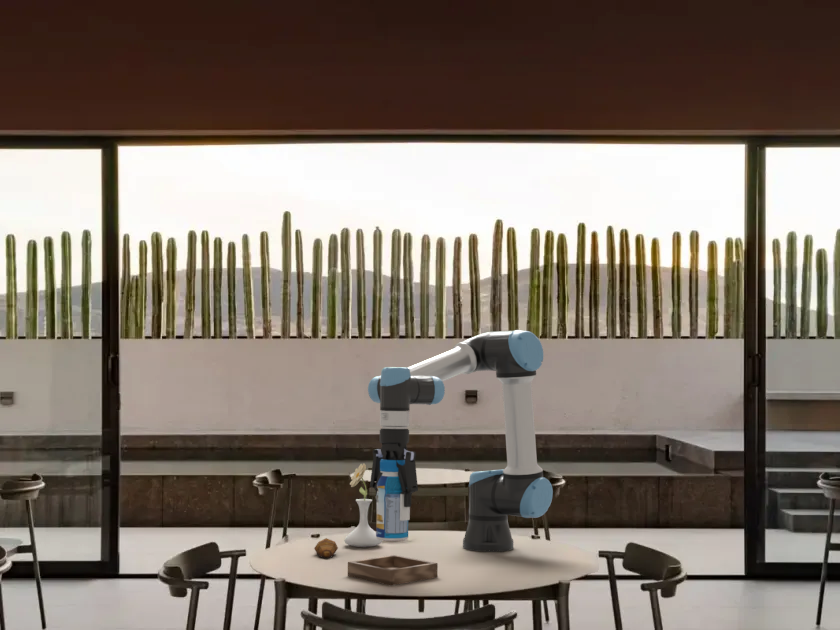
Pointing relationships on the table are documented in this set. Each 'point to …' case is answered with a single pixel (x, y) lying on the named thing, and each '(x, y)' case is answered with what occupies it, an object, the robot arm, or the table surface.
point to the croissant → (326, 548)
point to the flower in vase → (362, 517)
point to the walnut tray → (392, 569)
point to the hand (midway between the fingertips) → (392, 518)
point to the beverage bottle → (390, 504)
